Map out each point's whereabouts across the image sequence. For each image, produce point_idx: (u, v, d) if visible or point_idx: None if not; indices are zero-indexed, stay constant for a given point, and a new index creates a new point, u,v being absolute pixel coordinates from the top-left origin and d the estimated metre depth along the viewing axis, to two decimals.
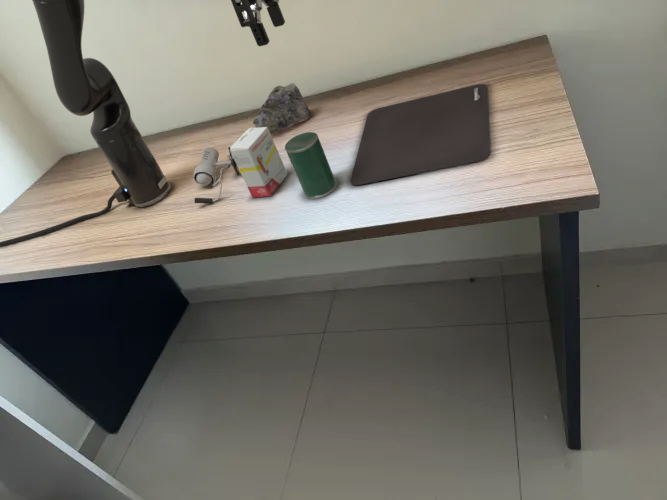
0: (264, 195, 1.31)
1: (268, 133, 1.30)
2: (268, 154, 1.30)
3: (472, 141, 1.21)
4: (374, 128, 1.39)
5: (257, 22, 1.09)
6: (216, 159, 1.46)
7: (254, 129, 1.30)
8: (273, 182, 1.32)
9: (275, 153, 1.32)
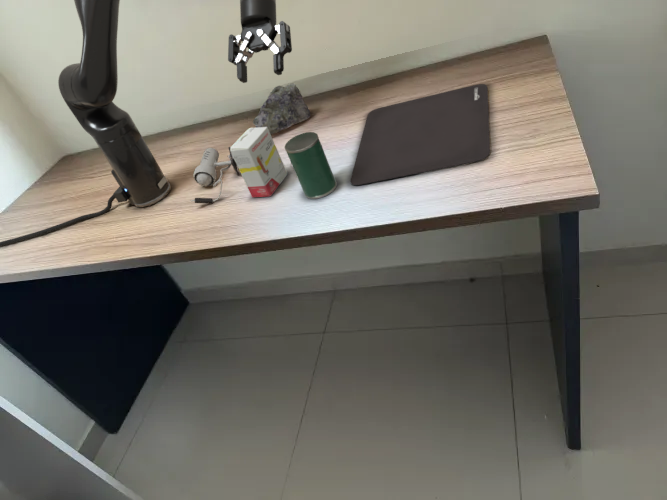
0: (264, 195, 1.31)
1: (268, 133, 1.30)
2: (268, 154, 1.30)
3: (472, 141, 1.21)
4: (374, 128, 1.39)
5: (236, 61, 1.36)
6: (216, 159, 1.46)
7: (254, 129, 1.30)
8: (273, 182, 1.32)
9: (275, 153, 1.32)
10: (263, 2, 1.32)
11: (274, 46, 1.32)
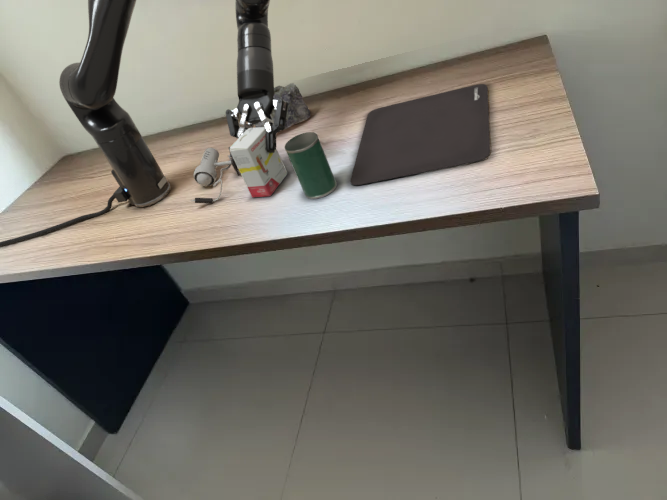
0: (264, 195, 1.31)
1: None
2: (268, 154, 1.30)
3: (472, 141, 1.21)
4: (374, 128, 1.39)
5: (238, 136, 1.32)
6: (216, 159, 1.46)
7: (253, 129, 1.31)
8: (272, 181, 1.32)
9: (275, 153, 1.32)
10: (261, 74, 1.29)
11: (268, 124, 1.29)
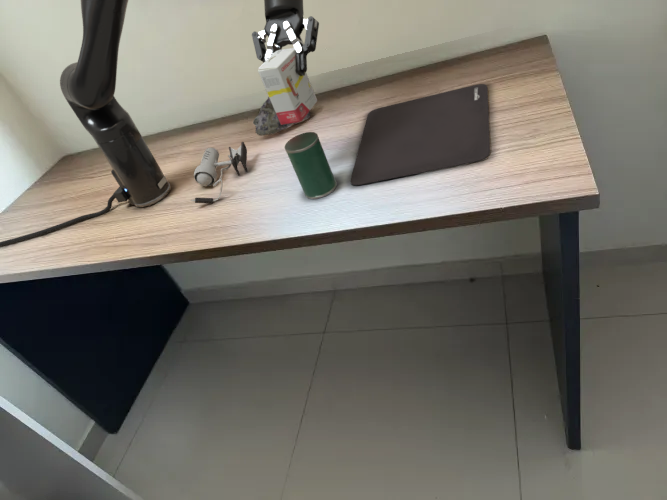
0: (294, 121, 1.24)
1: None
2: (298, 77, 1.22)
3: (472, 141, 1.21)
4: (374, 128, 1.39)
5: None
6: (216, 159, 1.46)
7: (282, 50, 1.23)
8: (303, 107, 1.24)
9: (305, 77, 1.24)
10: None
11: (298, 44, 1.21)
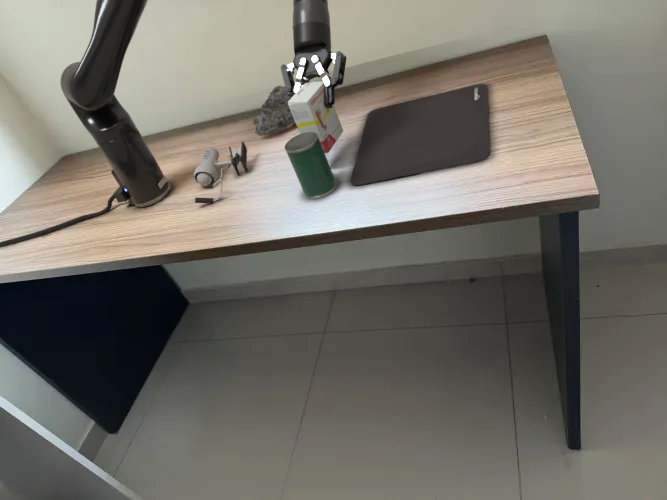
0: None
1: None
2: (326, 109, 1.27)
3: (472, 141, 1.21)
4: (374, 128, 1.39)
5: (294, 91, 1.29)
6: (216, 159, 1.46)
7: (311, 83, 1.27)
8: (330, 138, 1.28)
9: (332, 108, 1.29)
10: (319, 27, 1.26)
11: (326, 78, 1.25)
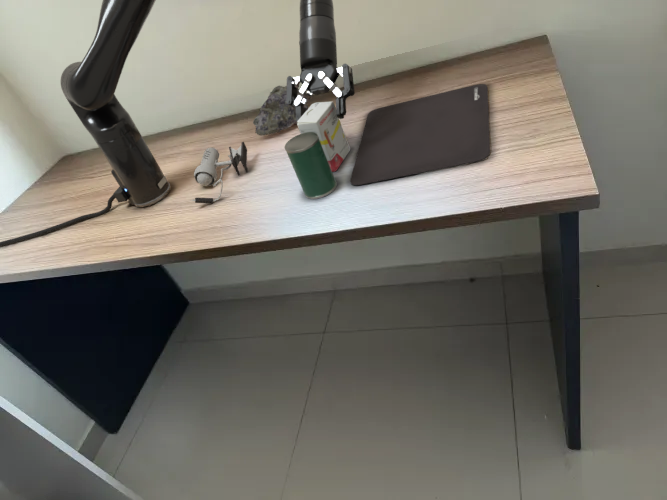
0: None
1: (334, 107, 1.29)
2: (334, 129, 1.29)
3: (472, 141, 1.21)
4: (374, 128, 1.39)
5: None
6: (217, 159, 1.46)
7: (319, 103, 1.29)
8: (338, 157, 1.31)
9: (340, 128, 1.31)
10: (325, 44, 1.28)
11: (337, 89, 1.27)
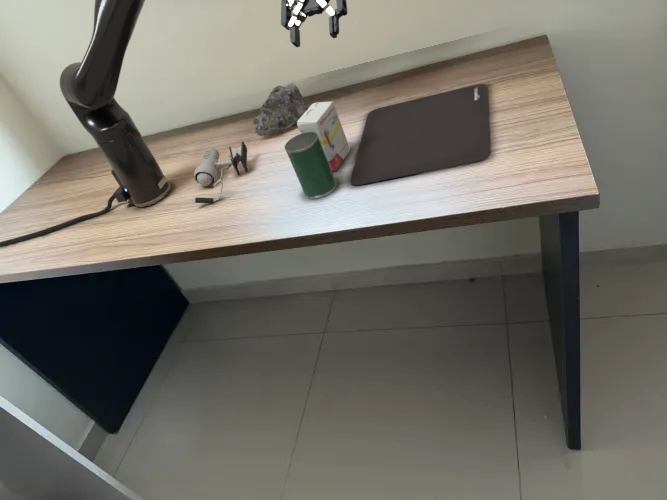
0: None
1: (334, 107, 1.29)
2: (334, 129, 1.29)
3: (472, 141, 1.21)
4: (374, 128, 1.39)
5: (289, 25, 1.34)
6: (217, 159, 1.46)
7: (319, 104, 1.29)
8: (338, 157, 1.31)
9: (340, 128, 1.31)
10: None
11: (330, 8, 1.30)
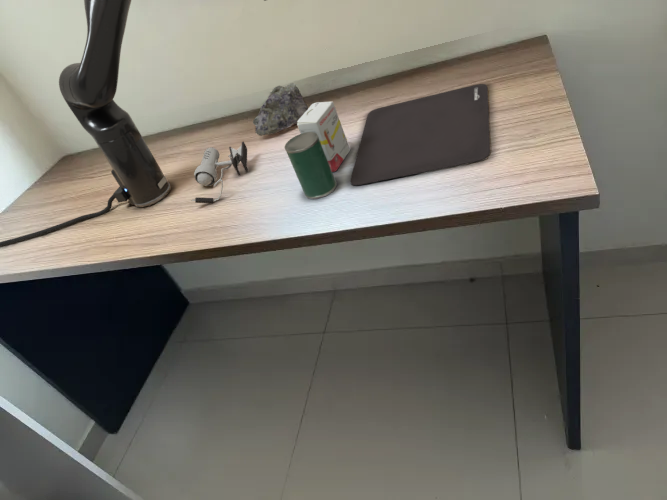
0: None
1: (334, 107, 1.29)
2: (334, 129, 1.29)
3: (472, 141, 1.21)
4: (374, 128, 1.39)
5: None
6: (217, 159, 1.46)
7: (319, 104, 1.29)
8: (338, 157, 1.31)
9: (340, 128, 1.31)
10: None
11: None
